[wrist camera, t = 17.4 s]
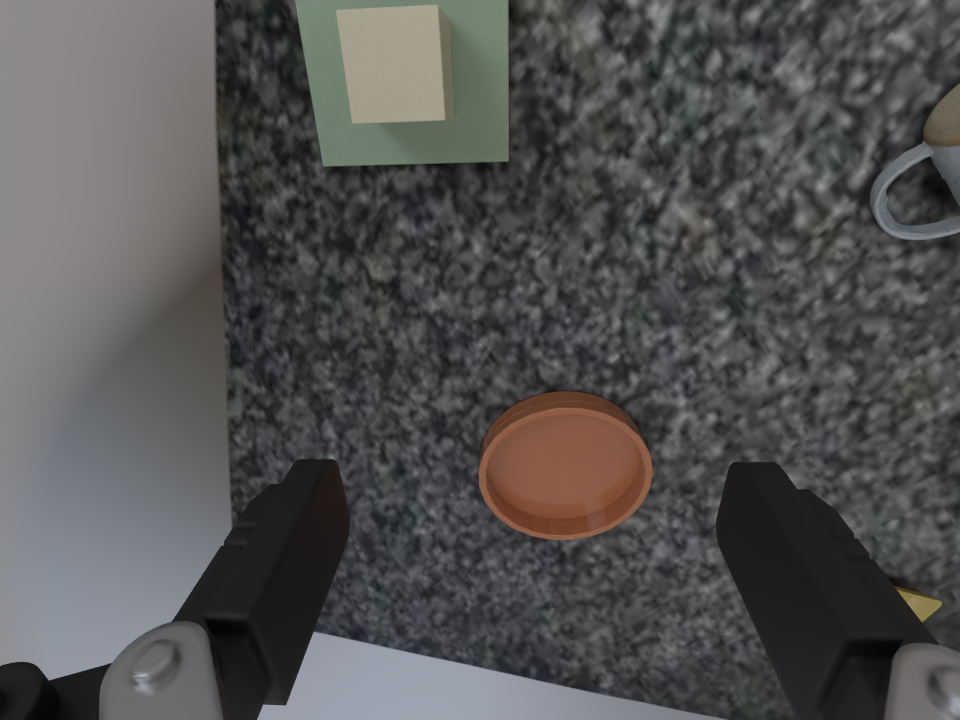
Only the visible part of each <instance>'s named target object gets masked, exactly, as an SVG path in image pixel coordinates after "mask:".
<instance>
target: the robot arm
mask: <svg viewBox="0 0 960 720" xmlns="http://www.w3.org/2000/svg"><path fill="white" fill-rule="evenodd" d="M349 528H350V515H349V509H348V505H347V501H346V497H345V492H344V488H343V484H342V479H341V475H340V471H339V467H338V464H337V462H336V461H335V460H333V459H299V460H297V461H296V462H295V463H294V464H293V466H292V467H291V469H290V471H289V472H288V474H287V476H286V477H285V479H284V481H283V482H282V484H271V485H269V486H268V487H267V488H266V489H265V490H263V491H262V492H261V493H260V494H259V495H257V496H256V497H255V498H254V499H253V500H252V501H250V502H249V504H248V505H247V507H246V508H245V510H244V511H243V513H242V515H241V516H240V518H239V519H238V521H237V522H236V527H235V528H232V530H231V532H230V533H229V535H228V536H227V538H226V539H225V541H224V546H221V547H220V548H219V550H218V552H217V553H216V555H215V556H214V558H213V559H212V561H211V563H210V564H209V566H208V567H207V569H206V570H205V572H204V573H203V575H202V576H201V578H200V579H199V581H198V583H197V584H196V586H195V587H194V589H193V590H192V592H191V593H190V595H189V596H188V598H187V599H186V601H185V602H184V604H183V606H182V607H181V609H180V610H179V612H178V613H177V615H176V616H175V618H174V619H173V620H172V622H170V623H167V624H163V625H161V626H158V627H156V628H154V629H152V630H150V631H148V632H146V633H144V634H143V635H141V636H140V637H138V638H137V639H136V640H134V641H133V642H132V643H131V644H129V645H128V646H127V647H126V648H125V649H124V650H123V651H122V652H121V653H120V654H119V655H118V656H117V658H116V659H115V660H114V661H113V663H111V664H107V665H104V666H100V667H96V668H93V669H89V670H86V671H82V672H79V673H75V674H71V675H68V676H64V677H60V678H57V679H54V680H50V681H49V680H48V679H47V678H46V676H45V675H44V674H43V673H42V671H41V670H40V669H39V668H38V667H37V666H36V665H34V664H32V663H28V662H15V663H9V664H5V665H2V666H0V720H257V718H258V716H259V713H260V711H261V708H262V706H263V704H266V705H286V704H287V701H288V698H289V696H290V693H291V690H292V688H293V685H294V682H295V680H296V677H297V674H298V672H299V669H300V666H301V664H302V661H303V658H304V655H305V653H306V650H307V648H308V645H309V642H310V640H311V637H312V634H313V632H314V629H315V626H316V624H317V621H318V618H319V616H320V613H321V610H322V607H323V605H324V602H325V599H326V597H327V594H328V591H329V589H330V586H331V583H332V581H333V578H334V575H335V573H336V570H337V567H338V565H339V562H340V559H341V557H342V554H343V551H344V549H345V546H346V543H347V540H348V535H349ZM716 532H717V539H718V543H719V547H720V550H721V552H722V555H723V557H724V559H725V561H726V563H727V566H728V568H729V570H730V572H731V574H732V577H733V579H734V581H735V583H736V586H737V588H738V590H739V592H740V594H741V597H742V599H743V601H744V603H745V606H746V608H747V610H748V612H749V614H750V617H751V619H752V621H753V623H754V626H755V628H756V630H757V632H758V634H759V637H760V639H761V641H762V643H763V646H764V648H765V650H766V652H767V654H768V657H769V659H770V661H771V663H772V666H773V668H774V670H775V672H776V674H777V677H778V679H779V681H780V683H781V686H782V688H783V690H784V692H785V694H786V697H787V699H788V701H789V703H790V706H791V708H792V710H793V712H794V714H795V717H796V719H797V720H960V653H959V652H956V651H954V650H952V649H949V648H946V647H943V646H940V645H939V643H938V642H937V641H936V640H935V639H934V637H933V636H932V635H931V633H930V632H929V631H928V630H927V628H926V627H925V626H924V624H923V623H922V622H921V620H920V619H919V618H918V617H917V615H916V614H915V613H914V611H913V610H912V609H911V607H910V606H909V605H908V604H907V602H906V601H905V600H904V598H903V597H902V596H901V594H900V593H899V592H898V591H897V589H896V588H895V587H894V585H893V584H892V583H891V581H890V580H889V579H888V578H887V576H886V575H885V574H884V572H883V571H882V570H881V568H880V567H879V566H878V565H877V563H876V562H875V561H874V559H870V557H869V553H868V552H867V550H866V549H865V548H864V546H863V545H862V544H861V542H860V541H859V540H858V539H855V538H854V533H853V532H852V531H851V529H850V528H849V527H848V526H847V524H846V523H845V522H844V520H843V519H842V518H841V516H840V515H839V514H838V513H837V511H836V510H835V509H834V508H832V507H831V506H830V505H828V504H827V503H826V502H824V501H823V500H822V499H820V498H819V497H818V496H816V495H815V494H814V493H812V492H811V491H810V490H807V489H797V488H796V487H795V486H794V484H793V483H792V481H791V480H790V479H789V477H788V476H787V474H786V473H785V472H784V470H783V469H782V468H781V466H780V465H778V464H777V463H775V462H734V463H732V464H731V465H730V467H729V470H728V474H727V478H726V482H725V486H724V490H723V494H722V499H721V503H720V507H719V511H718V515H717V520H716Z"/></svg>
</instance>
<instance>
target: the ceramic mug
mask: <svg viewBox="0 0 960 720" xmlns="http://www.w3.org/2000/svg"><path fill="white" fill-rule="evenodd" d="M923 136H924V141H923V143H922V144H920V145H918V146H916V147H914V148H912V149H910V150H908V151H906V152H905V153H903V154H902V155H900V156H899V157H898V158H897V159H895V160H894V161H893V162H892V163H891V164H889V165H888V166H887V167H886V168H885V169H884V170H883V171H882V172H881V173H880V175H879V176H878V177H877V179H876V180H875V182H874V184H873V186H872V189H871V194H870V207H871V210H872V212H873V214H874V217H875V219H876V221H877V223H878V224H879V226H880V227H881V228H882V229H883V230H884V231H885V232H886V233H888V234H889V235H891V236H894V237H897V238H901V239H909V240H924V239H933V238H939V237H944V236H948V235H951V234H955V233H958V232H960V215H958V216H955V217H952V218H949V219H945V220H942V221H939V222H935V223H930V224H925V225H916V226H908V225H901V224H899V223H898V222H896V221H894V219H893V217H892V216H891V214H890V212H889V210H888V208H887V201H888V197H887V196H886V189H887V188H888V186H889V185H890V184H891V183H892V182H893V181H894V180H895V178H896V177H897V176H899V175H900V174H901V173H903V172H904V171H906V170H907V169H908V168H910V167H911V166H912V165H914V164H917V163H918V162H920V161H921V160H923V159H924V158H927V157H931V159H932V161H933V164H934V165H935V166H936V168H937V169H938V171H939V173H940V175H941V177H942V179H945V181H946V183H947V184H948V186H949V189H950V190H951V192H952V194H953V196H954V198H955V200H956V201H957V203H958V205H959V206H960V83H959V84H958V85H957V86H956V87H954V88H953V89H952V90H951V91H950V92H949V93H948V94H947V95H946V96H945V97H944V98H943V99H942V100H941V101H940V102H939V103H938V104H937V105H936V106H935V108H934V109H933V110H932V112H931V113H930V115H929V117H928V119H927V121H926V123H925V126H924V133H923Z"/></svg>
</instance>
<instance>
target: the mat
mask: <svg viewBox="0 0 960 720" xmlns="http://www.w3.org/2000/svg"><path fill="white" fill-rule="evenodd" d="M295 4H296V10H297V15H298V21H299V27H300V33H301V39H302V45H303V51H304V57H305V62H306V68H307V74H308V80H309V86H310V92H311V98H312V103H313V109H314V115H315V121H316V127H317V133H318V139H319V144H320V150H321V156H322V162H323V166H324V167H326V166H362V165H398V164H434V163H470V162H506V161H509V19H508V0H295ZM436 4H437V5H439V7H440V8H441V9H442V10H443V12H444V13H445V14H446V16H447V17H448V18H449V28H450V46H451V64H452V82H453V100H454V116H453V117H451V118H449V119H447V120H445V121H428V122H402V123H377V124H352V120H351V113H350V106H349V99H348V92H347V85H346V78H345V72H344V65H343V58H342V51H341V44H340V37H339V30H338V23H337V16H336V10H341V9H360V8H379V7H398V6H417V5H436Z"/></svg>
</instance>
